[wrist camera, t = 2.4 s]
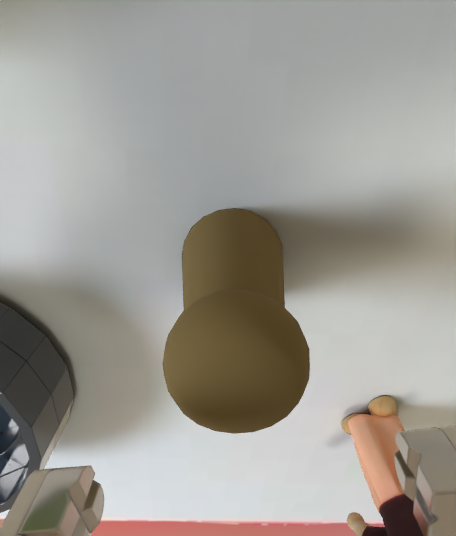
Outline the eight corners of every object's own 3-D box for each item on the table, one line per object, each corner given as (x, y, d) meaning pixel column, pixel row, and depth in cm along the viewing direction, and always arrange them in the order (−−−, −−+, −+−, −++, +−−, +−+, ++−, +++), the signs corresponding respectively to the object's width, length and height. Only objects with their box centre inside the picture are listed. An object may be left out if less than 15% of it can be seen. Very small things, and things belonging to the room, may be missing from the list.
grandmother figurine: (383, 377, 25) (514, 610, 14) (420, 400, 26) (571, 635, 15) (312, 439, 28) (372, 675, 16) (348, 457, 29) (428, 693, 17)
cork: (199, 310, 23) (178, 474, 13) (167, 224, 20) (110, 343, 10) (292, 288, 22) (345, 443, 12) (270, 195, 19) (316, 294, 10)
